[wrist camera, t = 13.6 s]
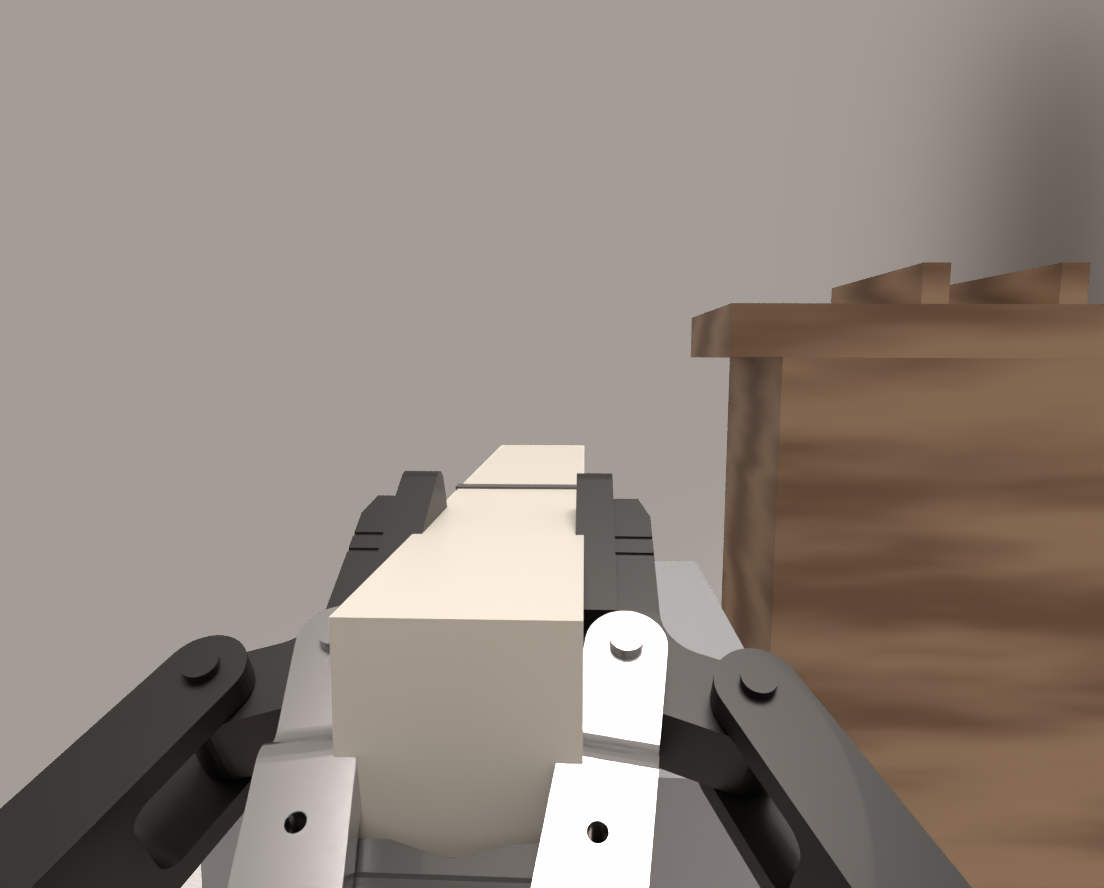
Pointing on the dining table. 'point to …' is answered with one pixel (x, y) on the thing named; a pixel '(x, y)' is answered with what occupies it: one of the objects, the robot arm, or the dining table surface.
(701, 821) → the grey step block
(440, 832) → the domino bar
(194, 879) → the dining table surface
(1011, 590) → the walnut shelf
